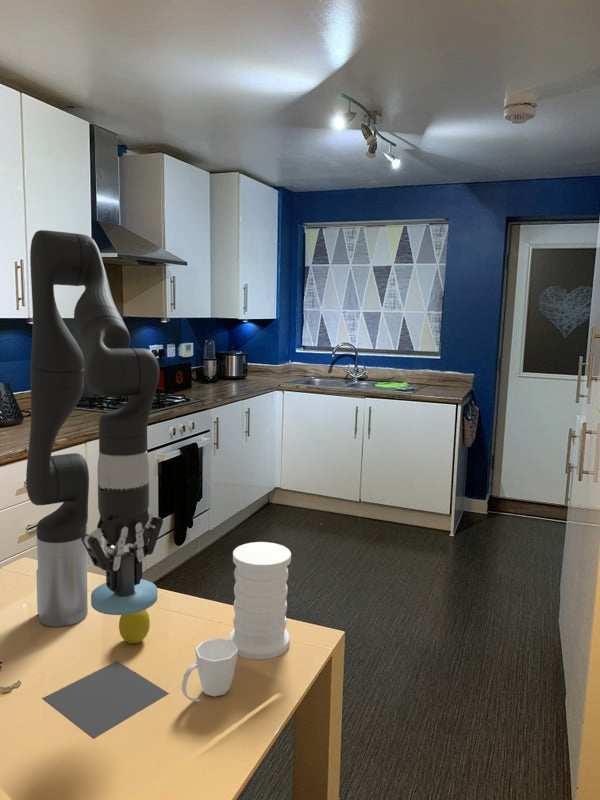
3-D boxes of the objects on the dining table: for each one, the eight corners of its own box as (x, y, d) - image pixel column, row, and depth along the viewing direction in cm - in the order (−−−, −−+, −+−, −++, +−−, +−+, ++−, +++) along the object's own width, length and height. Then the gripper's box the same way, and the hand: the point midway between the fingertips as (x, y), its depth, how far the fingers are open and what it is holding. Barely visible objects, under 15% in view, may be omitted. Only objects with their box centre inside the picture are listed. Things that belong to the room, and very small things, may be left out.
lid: (77, 600, 96) (77, 556, 95) (131, 579, 103) (131, 538, 102) (116, 622, 90) (116, 575, 89) (170, 598, 97) (170, 555, 96)
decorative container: (279, 664, 111) (282, 569, 108) (219, 652, 114) (221, 560, 111) (296, 632, 122) (300, 546, 119) (241, 622, 125) (244, 537, 122)
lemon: (141, 654, 112) (141, 613, 111) (113, 649, 113) (113, 609, 112) (154, 638, 118) (154, 599, 116) (127, 634, 119) (127, 595, 117)
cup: (245, 695, 102) (247, 649, 100) (196, 722, 95) (196, 674, 93) (219, 676, 106) (220, 632, 105) (170, 701, 99) (170, 654, 98)
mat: (42, 701, 98) (42, 698, 98) (117, 663, 109) (116, 660, 109) (93, 742, 90) (93, 738, 89) (169, 696, 100) (169, 693, 100)
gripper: (146, 467, 102) (146, 566, 104) (67, 483, 91) (70, 594, 93) (176, 475, 97) (175, 580, 99) (97, 494, 86) (98, 611, 89)
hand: (124, 586), depth 96 cm, fingers closed on lid, 3 cm apart
